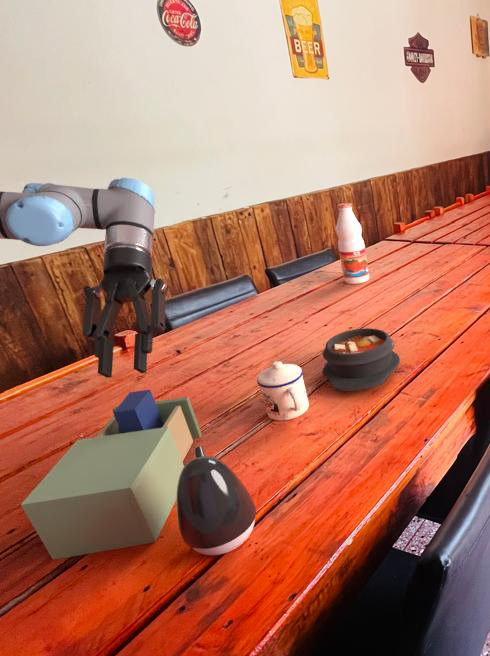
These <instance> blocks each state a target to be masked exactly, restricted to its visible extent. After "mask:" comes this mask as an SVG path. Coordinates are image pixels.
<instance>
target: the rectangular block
mask: <svg viewBox="0 0 490 656" xmlns="http://www.w3.org/2000/svg"><path fill="white" fill-rule="evenodd" d="M155 401H156V400H155V397H154V396H153V393H152V390H151V389H144V390H136V391H130V392H129V393H127V395H126V396H125V398H124V399H123V400H122V401H121V402H120V403H119V405H118V406H116V407H117V408H116V410H115V411H114V412H113V411H112V413H113V415H114V416H115V418H116V420H117V423H118V425H119V427H120V429H121V432H122V433H128V432H135V431H143V430H150V429H157V428H162V427H163V425H164V423H163V421H162V418H161V415H160V413H159V410H158V408H157V405H156V403H155Z"/></svg>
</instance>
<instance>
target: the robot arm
mask: <svg viewBox="0 0 490 656" xmlns="http://www.w3.org/2000/svg"><path fill="white" fill-rule="evenodd" d="M155 214H156V210H155V194H154V191H153V190H152V189H151V187H150V186H148V185H147V184H146V183H144V182H143V181H141V180H138V179H135V178H132V177H121V178H115V179H112V180H111V181H110V182H109V185H108V186H107V188H90V187H81V186H72V185H63V184H55V183H51V182H46V183H41V182H40V183H39V182H30V183H29V182H28V183H27V184H25V185H24V187H23V190H22V191H21V192H17V191H16V192H15V191H2V190H0V239H1V240H14V241H21V242H23V243H25V244H28V245H32V246H36V247H48V246H52V245H56V244H60V243H62V242H64V241H66V240H67V239H68V238H69V237H70V236H71V234H72V233H74V232H75V231H77V230H78V229H87V230H88V229H90V230H91V229H92V230H100V231H101V230H102V231H104V230H105V236H104V247H103V248H104V249H103V251H104V253H103V262H102V271H103V277H102V278H101V281H100V284H98V285H94V286H92V287H91V286H90V285H85V286H83V293H84V296H85V305H84V315H83V326H82V335H83V336H84V337H86V338H88V339H89V340H91V341H92V342H94V350H93V355H94V357H95V358H97V359H98V362H97V374H99V375H101V376H103V377H105V378H108V379H109V378H112V377H113V362H114V348H115V347H114V345H115V343H114V342H113V341H112V340H110V338H111V335H112V334H113V330H114V327H115V324H116V322H117V318H118V316H119V313H120V311H121V310H122V309H123V307H124V304H126V303H130V302H131V303H132V305H133V309H134V313H135V316H136V320H137V321H136V322H137V324H138V327H139V329H137V331H139V333H138V332H137V333H135V334H134V348H133V349H134V351H133V352H134V353H133V370H135V371H137V372H138V373H141V374H146V373H147V370H148V367H147V366H148V354H152V352H153V346H154V345H153V344H154V336H155V335H157V334H163V333H164V332H165V331H166V296H167V293H168V292H169V288H170V285H168V283H166V281H164V280H163V279H162V278H158V279H153V277H152V276H153V254H154V253H153V251H154V250H153V249H154V229H155V225H154V224H155ZM150 290H151V311H150V312H151V315H150V313H149V309H148V302H147V298H146V294H147V293H148V292H149V291H150ZM103 293H106V294H105V297H104V296H103ZM103 298H104V305H103V308H102V300H103Z"/></svg>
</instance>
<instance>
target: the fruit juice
mask: <svg viewBox="0 0 490 656" xmlns="http://www.w3.org/2000/svg"><path fill="white" fill-rule="evenodd" d="M337 210H338V218H337V222H336V225H335V233H336V235H337V238H338V240H337V247H338V253H339V259H340V265H341V271H342V277H343V280H344V282H345V283H346V284H347V285H348V284H350V285H359V284H363V283H366V282H368V281H369V280H370V272H369V271H370V270H369V264H368V257H367V251H366V245H365V241H364V238H363V236H362V234H363V233H362V232H363V228H362V225H361V223H360V222H359V221H358V219H357V217H356V215H355V213H354V212H353V204H352V202H342V203H337Z"/></svg>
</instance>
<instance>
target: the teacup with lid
mask: <svg viewBox="0 0 490 656" xmlns="http://www.w3.org/2000/svg"><path fill="white" fill-rule="evenodd" d="M303 374H304V372H303V369H302V367H300V366H299V365H297V364H294V363H283V362H282V361H280V360H276V361H273V362H272V364H271V366H270V367H267V368H265V369H264V370H262V371H261V372H260V373H259V374H258V375H257V379H256V383H257V385H258V386H259V389H260V393H261V396H262V400H263V403H264V407H265V410H266V414H267V417H269V418H270V419H272V420H274V421H289V420H294V419H296V418H298V417H300V416H302V415H303V414H305V413H306V412H307V410H308V409H309V408H310V407H309V406H310V402H309V397H308V394H307V390H306V386H305V382H304V378H303V377H304V376H303Z"/></svg>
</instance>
